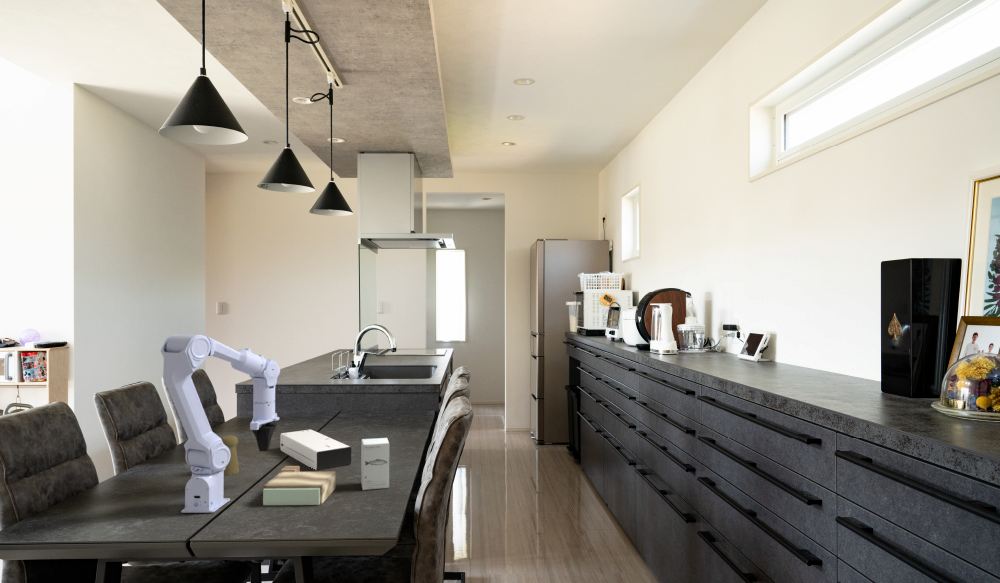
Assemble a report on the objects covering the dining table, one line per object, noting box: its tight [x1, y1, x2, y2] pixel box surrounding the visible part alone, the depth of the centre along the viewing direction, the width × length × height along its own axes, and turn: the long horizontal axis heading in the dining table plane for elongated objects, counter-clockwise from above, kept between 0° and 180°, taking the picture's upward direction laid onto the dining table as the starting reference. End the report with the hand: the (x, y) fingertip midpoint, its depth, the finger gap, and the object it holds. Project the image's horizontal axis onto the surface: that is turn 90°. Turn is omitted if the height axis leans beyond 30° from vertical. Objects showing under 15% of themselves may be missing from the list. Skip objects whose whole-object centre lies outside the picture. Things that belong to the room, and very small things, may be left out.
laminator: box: [279, 429, 352, 471], centre depth 199 cm, size 34×12×6 cm, turn 38°
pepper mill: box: [220, 435, 240, 476], centre depth 181 cm, size 6×6×11 cm
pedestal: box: [280, 465, 301, 472], centre depth 171 cm, size 4×4×4 cm
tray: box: [262, 488, 320, 506], centre depth 158 cm, size 13×14×4 cm
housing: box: [262, 470, 337, 505], centre depth 159 cm, size 13×15×5 cm
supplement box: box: [360, 437, 390, 491], centre depth 168 cm, size 7×7×13 cm
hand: (263, 450), depth 168 cm, fingers closed
